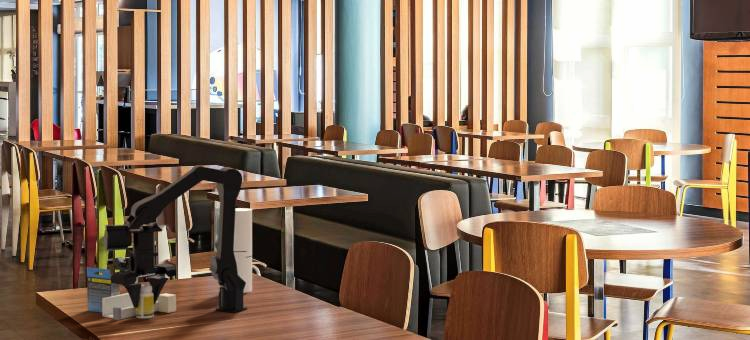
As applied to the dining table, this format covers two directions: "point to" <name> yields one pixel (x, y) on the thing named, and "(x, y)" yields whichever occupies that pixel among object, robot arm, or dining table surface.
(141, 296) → the supplement bottle
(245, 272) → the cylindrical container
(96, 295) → the label tape cartridge
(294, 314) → the dining table surface
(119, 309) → the white bracket
